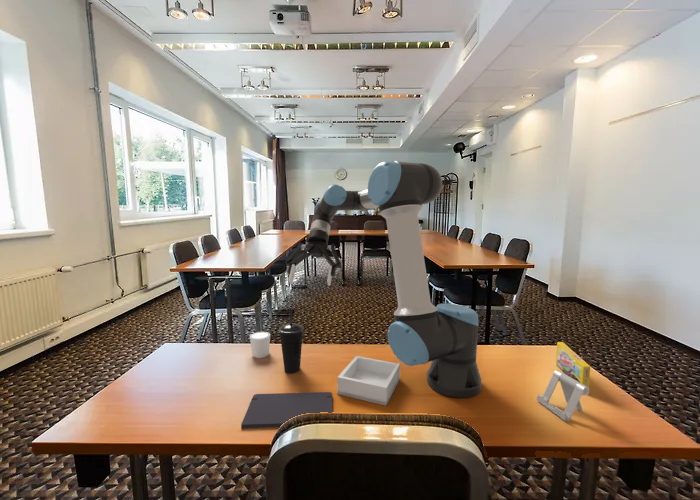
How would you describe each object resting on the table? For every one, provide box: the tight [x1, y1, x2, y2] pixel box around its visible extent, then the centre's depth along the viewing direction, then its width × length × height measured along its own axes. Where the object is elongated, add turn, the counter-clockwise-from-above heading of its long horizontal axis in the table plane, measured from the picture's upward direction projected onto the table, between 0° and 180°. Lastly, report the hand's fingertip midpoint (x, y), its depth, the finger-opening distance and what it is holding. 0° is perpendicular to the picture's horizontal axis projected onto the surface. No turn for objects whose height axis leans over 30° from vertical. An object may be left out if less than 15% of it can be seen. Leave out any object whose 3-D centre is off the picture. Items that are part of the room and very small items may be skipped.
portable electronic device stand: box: [536, 369, 590, 423], centre depth 85 cm, size 9×8×8 cm
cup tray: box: [336, 355, 401, 407], centre depth 96 cm, size 14×14×5 cm
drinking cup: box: [278, 307, 305, 374], centre depth 105 cm, size 8×8×20 cm
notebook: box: [240, 391, 333, 430], centre depth 85 cm, size 13×2×21 cm
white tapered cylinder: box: [249, 331, 271, 359], centre depth 116 cm, size 7×7×7 cm
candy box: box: [555, 341, 591, 395], centre depth 100 cm, size 16×2×8 cm, turn 171°
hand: (309, 282), depth 116 cm, fingers open, 13 cm apart
